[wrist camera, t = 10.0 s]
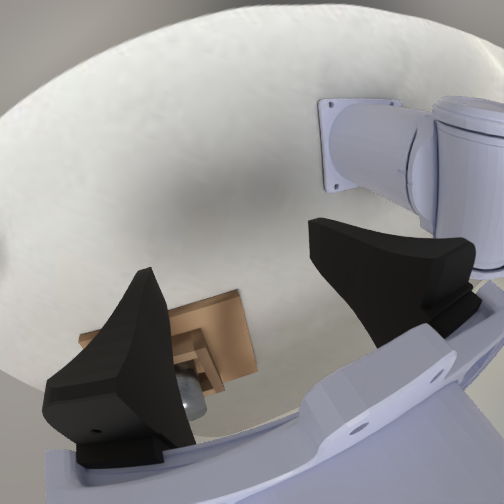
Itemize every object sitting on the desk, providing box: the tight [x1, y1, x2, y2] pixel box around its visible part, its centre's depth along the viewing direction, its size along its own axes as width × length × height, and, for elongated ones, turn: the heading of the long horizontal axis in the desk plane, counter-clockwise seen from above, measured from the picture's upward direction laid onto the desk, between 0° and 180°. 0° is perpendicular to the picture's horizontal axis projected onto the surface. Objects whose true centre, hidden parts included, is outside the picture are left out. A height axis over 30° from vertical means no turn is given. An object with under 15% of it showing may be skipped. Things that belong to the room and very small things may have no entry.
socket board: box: [78, 290, 258, 397], centre depth 25 cm, size 16×12×4 cm
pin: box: [174, 359, 207, 421], centre depth 23 cm, size 4×4×6 cm
